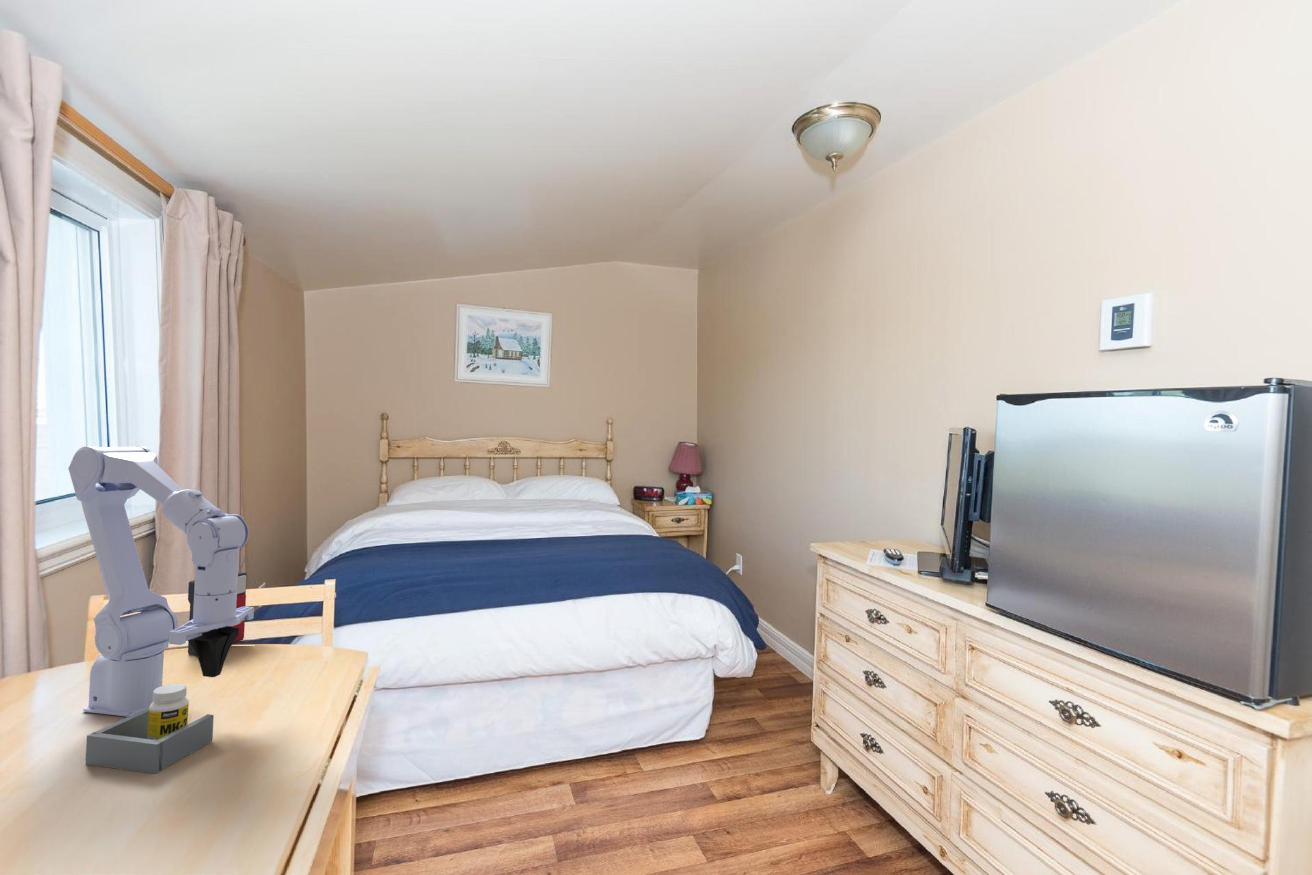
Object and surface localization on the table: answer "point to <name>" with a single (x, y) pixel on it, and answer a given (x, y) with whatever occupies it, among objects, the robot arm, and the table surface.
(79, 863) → the table surface
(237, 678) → the table surface
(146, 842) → the table surface
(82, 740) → the table surface
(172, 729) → the supplement bottle
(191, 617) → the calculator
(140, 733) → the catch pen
